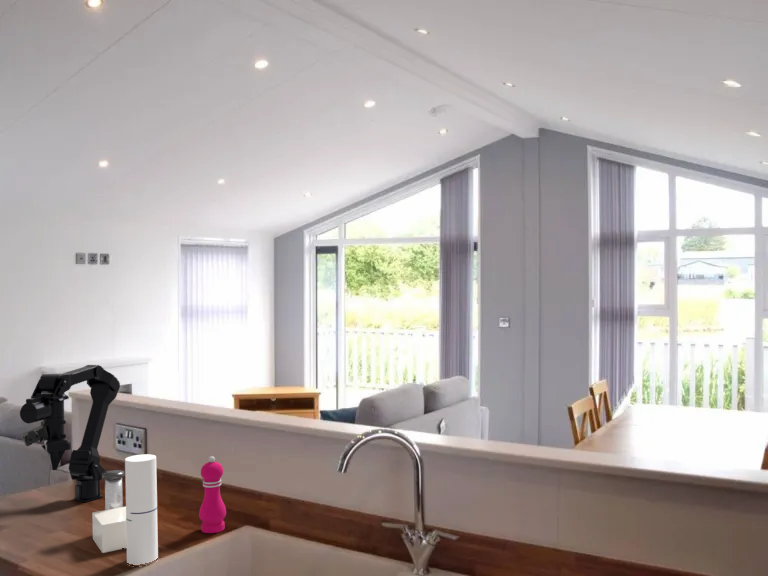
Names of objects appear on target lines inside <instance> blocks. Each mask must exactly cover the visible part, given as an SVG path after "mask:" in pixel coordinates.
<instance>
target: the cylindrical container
mask: <svg viewBox="0 0 768 576" xmlns="http://www.w3.org/2000/svg"><path fill="white" fill-rule="evenodd" d="M157 476H158V475H157V456H156V455H154V454H152V453H151V454H146V453H145V454H143V453H142V454H135V455H130V456H128V457H125V460H124V477H125V479H124V480H125V506H126V537H127V548H126V564H127V563H129V564H133V565H140V564H145V563H149V562H152V561H154V560H156V559H157V558H158V559H159V549H158V548H159V544H158V543H159V539H158V538H159V537H158V535H159V534H158V530H159V529H158V485H157V483H158V482H157V480H158V479H157Z"/></svg>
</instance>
